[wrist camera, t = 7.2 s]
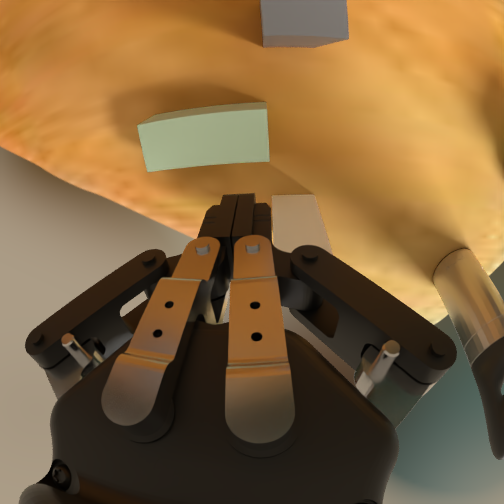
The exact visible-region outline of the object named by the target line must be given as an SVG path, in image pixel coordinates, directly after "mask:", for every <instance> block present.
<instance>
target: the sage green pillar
mask: <svg viewBox="0 0 504 504" xmlns="http://www.w3.org/2000/svg"><path fill="white" fill-rule="evenodd" d="M137 128H138V133H139V137H140V142H141V147H142V151H143V155H144V160H145V164H146V168H147V172H153V171H160V170H168V169H177V168H186V167H195V166H206V165H218V164H231V163H248V162H270V158H269V138H268V119H267V104H266V102H252V103H238V104H226V105H216V106H207V107H200V108H192V109H185V110H179V111H173V112H167V113H162V114H156V115H153V116H152V117H150V118H148V119H147V120H145V121H143V122H142V123H140V124H138V125H137Z"/></svg>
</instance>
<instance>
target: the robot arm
mask: <svg viewBox="0 0 504 504" xmlns="http://www.w3.org/2000/svg"><path fill="white" fill-rule="evenodd" d="M230 282H231V284H230V310H229V322H228V323H223V319H224V315H225V311H226V307H227V303H228V299H229V291H228V288H229V283H230ZM433 282H434V285H435V287H436V289H437V291H438V293H439V295H440V297H441V299H442V301H443V303H444V305H445V307H446V309H447V311H448V313H449V316H450V318H451V320H452V322H453V324H454V327H455V329H456V331H457V334H458V336H459V338H460V340H461V343H462V345H463V348H464V351H465V353H466V356H467V358H468V361H469V364H470V366H471V369H472V372H473V375H474V378H475V380H476V383H477V386H478V389H479V392H480V395H481V399H482V403H483V407H484V413H485V418H486V423H487V429H488V435H489V441H490V445H491V449H492V452H493V454H494V456H495V457H496V458H497V459H498V460H502V459H504V395H502V394H501V387H502V385H503V383H504V301H503V299H502V298H501V296H500V294H499V292H498V291H497V289H496V287H495V286H494V284H493V282H492V281H491V280H490V278H489V276H488V275H487V273H486V271H485V270H484V268H483V267H482V265H481V264H480V262H479V261H478V260H477V258H476V257H475V255H474V254H473V252H471V251H470V250H468V249H459V250H457V251H454V252H452V253H451V254H449V255H448V256H447V257H445V258H444V259H443V260H442V261H441V263H440V264H439V265H438V267H437V268H436V270H435V272H434V276H433ZM142 291H144V292H145V294H146V296H147V298H148V299H147V300H145V301H144V302H142V303H141V304H140V305H138V306H137V307H136V308H134V309H133V310H132V311H130V312H129V313H128V314H126V315H125V316H123V317H121V316H120V310H121V308H122V306H123V305H125V304H126V303H127V302H128V301H130V300H131V299H133V298H134V297H136V296H137V295H138V294H140V293H141V292H142ZM281 306H284V307H288V308H289V310H290V312H291V314H292V315H293V316H294V317H295V318H296V319H297V320H299V321H300V322H301V323H302V324H303V325H304V326H305V327H306V328H307V329H309V330H310V331H311V332H312V333H313V334H314V335H315V336H316V337H318V338H319V339H320V340H321V341H322V342H323V343H324V344H325V345H327V346H328V347H329V348H330V349H331V350H332V351H333V352H335V353H336V354H337V355H338V356H339V357H340V358H341V359H343V360H344V361H345V362H346V363H347V364H348V365H350V366H351V367H352V368H353V369H354V370H355V374H354V382H355V385H356V387H357V388H358V389H359V390H357V389H356V388H355V387H354V386H353V385H352V384H351V383H350V382H349V381H348V380H347V379H346V378H345V377H344V376H343V375H342V374H341V373H340V372H339V371H338V370H337V369H336V368H334V366H332V364H330V363H329V361H327V360H326V359H325V358H324V357H323V356H322V355H321V354H320V353H319V352H318V351H317V350H316V349H315V348H314V347H313V346H312V345H311V344H310V343H309V342H308V341H307V340H305V339H304V338H303V337H301V336H299V335H298V334H296V333H294V332H292V331H289V330H286V329H284V324H283V317H282V310H281ZM25 348H26V351H27V353H28V354H29V355H30V356H31V357H32V358H33V359H34V360H35V361H36V362H37V363H38V364H39V366H40V367H41V368H42V369H43V370H44V371H45V372H46V375H47V377H48V380H49V382H50V384H51V386H52V389H53V391H54V393H55V395H56V397H57V399H58V401H57V402H56V404H55V406H54V408H53V410H52V414H51V419H50V428H51V436H52V445H53V460H52V465H51V468H50V470H49V472H48V474H47V475H46V476H45V477H44V478H43V479H42V480H40V481H39V482H37V483H36V484H33V485H31V486H29V487H27V488H26V489H25V490H24V491H23V492H22V494H21V496H20V500H19V504H382V501H383V496H384V492H385V489H386V485H387V482H388V480H389V477H390V474H391V472H392V470H393V468H394V466H395V464H396V461H397V457H398V452H399V441H398V436H397V433H396V430H395V428H396V427H397V426H398V425H399V424H400V423H401V422H402V420H403V419H404V418H405V417H406V416H407V414H408V413H409V412H410V411H411V410H412V408H413V407H414V406H415V404H416V403H417V402H418V401H419V399H420V398H421V397H422V396H423V395H424V394H426V393H427V392H428V391H429V390H430V388H432V387H433V386H434V384H435V383H436V382H437V381H438V380H439V379H440V378H441V377H442V376H443V375H444V374H445V372H447V370H448V369H449V368H450V367H451V366H452V365H453V364H454V362H455V360H456V356H457V351H456V346H455V344H454V342H453V341H452V339H450V337H449V336H448V335H446V334H445V333H444V332H442V331H441V330H440V329H438V328H437V327H436V326H434V325H433V324H432V323H430V322H429V321H427V320H426V319H425V318H423V317H422V316H421V315H419V314H418V313H416V312H415V311H414V310H412V309H411V308H409V307H408V306H407V305H405V304H404V303H402V302H401V301H400V300H398V299H397V298H395V297H394V296H392V295H391V294H390V293H388V292H387V291H385V290H384V289H382V288H381V287H380V286H378V285H377V284H375V283H374V282H372V281H371V280H369V279H368V278H366V277H365V276H363V275H362V274H360V273H359V272H357V271H356V270H355V269H353V268H352V267H350V266H349V265H347V264H346V263H344V262H342V261H341V260H339V259H338V258H336V257H335V256H333V255H332V254H330V253H329V252H327V251H326V250H324V249H323V248H321V247H318V246H315V245H302V246H299V247H297V248H295V249H294V250H293V251H292V252H291V253H289V252H284V251H281V250H279V249H277V248H276V247H275V246H274V245H273V244H272V229H271V208H270V207H269V206H268V205H267V203H256V199H255V193H251V194H232V195H223V197H222V200H221V204H220V205H214V206H212V207H211V208H210V209H208V210H207V211H206V214H205V217H204V220H203V224H202V226H201V228H200V231H199V234H198V237H197V239H194V240H192V241H191V242H189V243H188V245H187V246H186V248H185V250H184V252H183V254H180V255H177V256H173V257H169V258H166V255H165V253H164V252H163V251H162V250H158V249H152V250H147V251H145V252H143V253H141V254H139V255H138V256H136V257H135V258H133V259H132V260H130V261H129V262H127V263H126V264H124V265H123V266H121V267H120V268H118V269H117V270H115V271H114V272H112V273H111V274H109V275H108V276H106V277H105V278H103V279H102V280H100V281H99V282H97V283H96V284H95V285H93V286H92V287H90V288H89V289H87V290H86V291H85V292H83V293H82V294H80V295H79V296H78V297H76V298H75V299H73V300H72V301H71V302H69V303H68V304H67V305H65V306H64V307H62V308H61V309H60V310H58V311H57V312H56V313H54V314H53V315H52V316H50V317H49V318H48V319H46V320H45V321H44V322H43V323H41V324H40V325H39V326H37V327H36V328H35V329H33V330H32V331H31V333H30V334H29V335H28V337H27V339H26V343H25Z"/></svg>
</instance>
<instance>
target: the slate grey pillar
mask: <svg viewBox="0 0 504 504" xmlns="http://www.w3.org/2000/svg"><path fill="white" fill-rule="evenodd" d="M260 13H261V25H262V38H263V47H309V48H315V47H319V46H322V45H326V44H330V43H334V42H339V41H343V40H348V39H349V32H348V15H347V2H346V0H260Z"/></svg>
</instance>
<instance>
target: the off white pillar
mask: <svg viewBox="0 0 504 504" xmlns="http://www.w3.org/2000/svg"><path fill="white" fill-rule="evenodd" d="M272 218H273V245H274V246H275V247H276V248H277V249H279V250H281V251H284V252H289V253H291V252H292V251H293V250H294V249H295V248H297V247H299V246H302V245H315V246H318V247H321V248H323V249H324V250H326V251H327V252H329V253H330V254H332V255H333V253H332V249H331V246H330V243H329V239H328V236H327V233H326V229H325V226H324V223H323V220H322V217H321V213H320V210H319V207H318V204H317V201H316V198H315V195H314V194H306V195H272Z"/></svg>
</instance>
